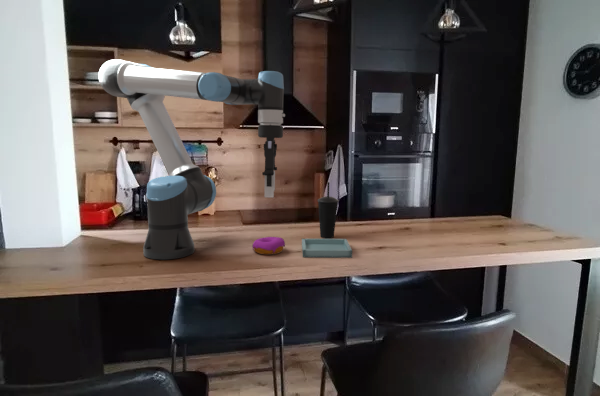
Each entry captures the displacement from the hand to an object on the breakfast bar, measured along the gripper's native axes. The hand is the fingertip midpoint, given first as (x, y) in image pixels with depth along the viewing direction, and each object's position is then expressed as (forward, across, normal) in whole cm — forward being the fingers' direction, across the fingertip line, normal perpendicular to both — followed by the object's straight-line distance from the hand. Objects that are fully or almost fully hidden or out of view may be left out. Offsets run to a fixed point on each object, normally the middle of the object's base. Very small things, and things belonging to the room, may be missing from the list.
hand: (269, 193), depth 130 cm
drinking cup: (+18, +18, -20) cm, 33 cm away
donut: (+19, 0, 0) cm, 19 cm away
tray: (+18, 0, -18) cm, 26 cm away
